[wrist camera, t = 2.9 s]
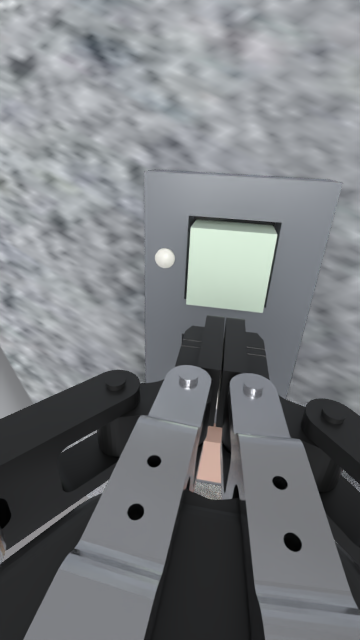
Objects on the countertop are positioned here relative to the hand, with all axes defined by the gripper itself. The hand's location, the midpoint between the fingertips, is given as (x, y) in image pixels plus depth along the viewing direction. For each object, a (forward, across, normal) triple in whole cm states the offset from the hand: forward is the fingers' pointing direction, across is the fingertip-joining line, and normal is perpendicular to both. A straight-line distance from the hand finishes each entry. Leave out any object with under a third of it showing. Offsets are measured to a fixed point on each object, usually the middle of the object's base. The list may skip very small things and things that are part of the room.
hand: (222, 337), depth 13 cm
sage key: (+12, 0, 0) cm, 12 cm away
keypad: (+13, 0, +9) cm, 16 cm away
